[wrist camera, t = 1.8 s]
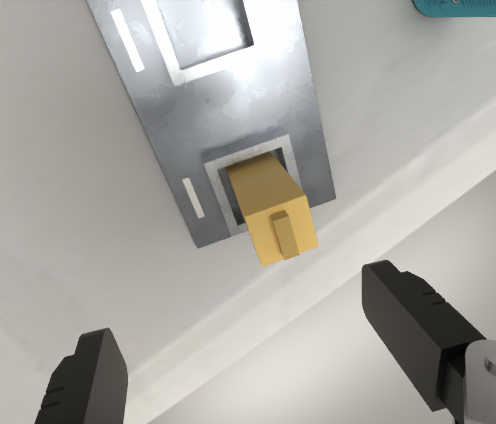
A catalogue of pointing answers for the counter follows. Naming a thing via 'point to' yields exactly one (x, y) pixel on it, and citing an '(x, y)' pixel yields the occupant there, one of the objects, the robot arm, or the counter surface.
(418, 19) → the counter surface
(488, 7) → the tube
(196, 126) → the panel
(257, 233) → the plug
